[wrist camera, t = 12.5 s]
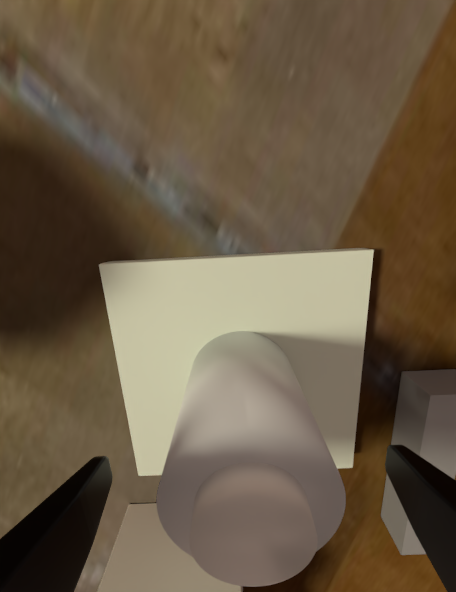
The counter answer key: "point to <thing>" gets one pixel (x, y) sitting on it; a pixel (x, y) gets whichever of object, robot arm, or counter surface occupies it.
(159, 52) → the counter surface
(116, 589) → the plunger housing
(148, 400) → the dock pad
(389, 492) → the socket
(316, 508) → the cylinder
